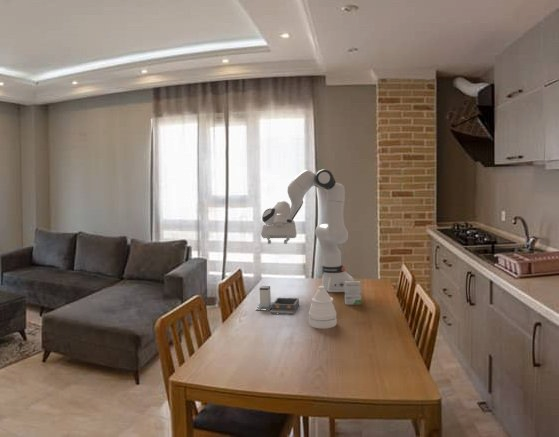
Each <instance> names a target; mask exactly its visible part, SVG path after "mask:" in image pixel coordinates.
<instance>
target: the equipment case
mask: <svg viewBox="0 0 559 437" xmlns="http://www.w3.org/2000/svg"><path fill="white" fill-rule="evenodd" d="M299 306H300V298H294V297H276V299H275V300H274V301H273V304H272V309H271V310H270V311H269V314H270V313H278V314H277V315H285V314H289V315H291V316H293V315H294V314H295V313H296V311H297V309H298V307H299ZM289 315H288V316H289Z"/></svg>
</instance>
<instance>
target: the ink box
mask: <svg viewBox="0 0 559 437" xmlns="http://www.w3.org/2000/svg"><path fill="white" fill-rule="evenodd" d="M344 303H345V304H344V305H347V306H348V305H349V306H352V305H357V306H358V305H362V282H361V280H354V281H345V292H344Z"/></svg>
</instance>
